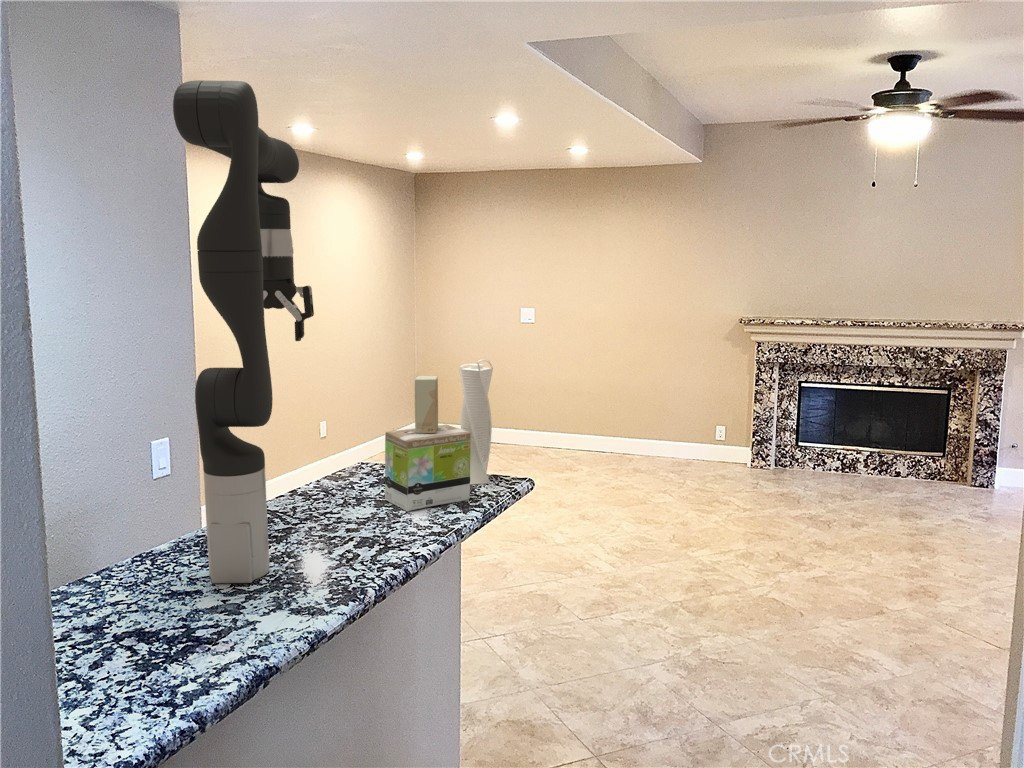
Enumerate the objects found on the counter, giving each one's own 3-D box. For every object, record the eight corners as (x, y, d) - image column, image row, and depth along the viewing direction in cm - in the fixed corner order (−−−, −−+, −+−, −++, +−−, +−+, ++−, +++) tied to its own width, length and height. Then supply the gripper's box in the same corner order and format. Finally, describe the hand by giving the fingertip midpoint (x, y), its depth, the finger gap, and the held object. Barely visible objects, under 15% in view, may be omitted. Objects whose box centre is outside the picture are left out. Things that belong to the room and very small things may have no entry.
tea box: (408, 513, 164) (407, 440, 161) (384, 500, 172) (382, 431, 169) (471, 500, 173) (471, 430, 170) (446, 488, 181) (445, 422, 178)
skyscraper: (496, 485, 183) (496, 359, 179) (463, 487, 182) (462, 360, 177) (489, 475, 191) (489, 354, 186) (457, 477, 189) (456, 355, 185)
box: (435, 433, 167) (435, 379, 165) (414, 433, 167) (413, 379, 165) (438, 428, 172) (438, 375, 171) (417, 428, 172) (417, 375, 171)
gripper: (227, 254, 151) (231, 343, 154) (306, 254, 151) (309, 343, 154) (239, 253, 158) (243, 338, 161) (314, 254, 159) (317, 338, 162)
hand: (275, 340), depth 158 cm, fingers open, 8 cm apart
